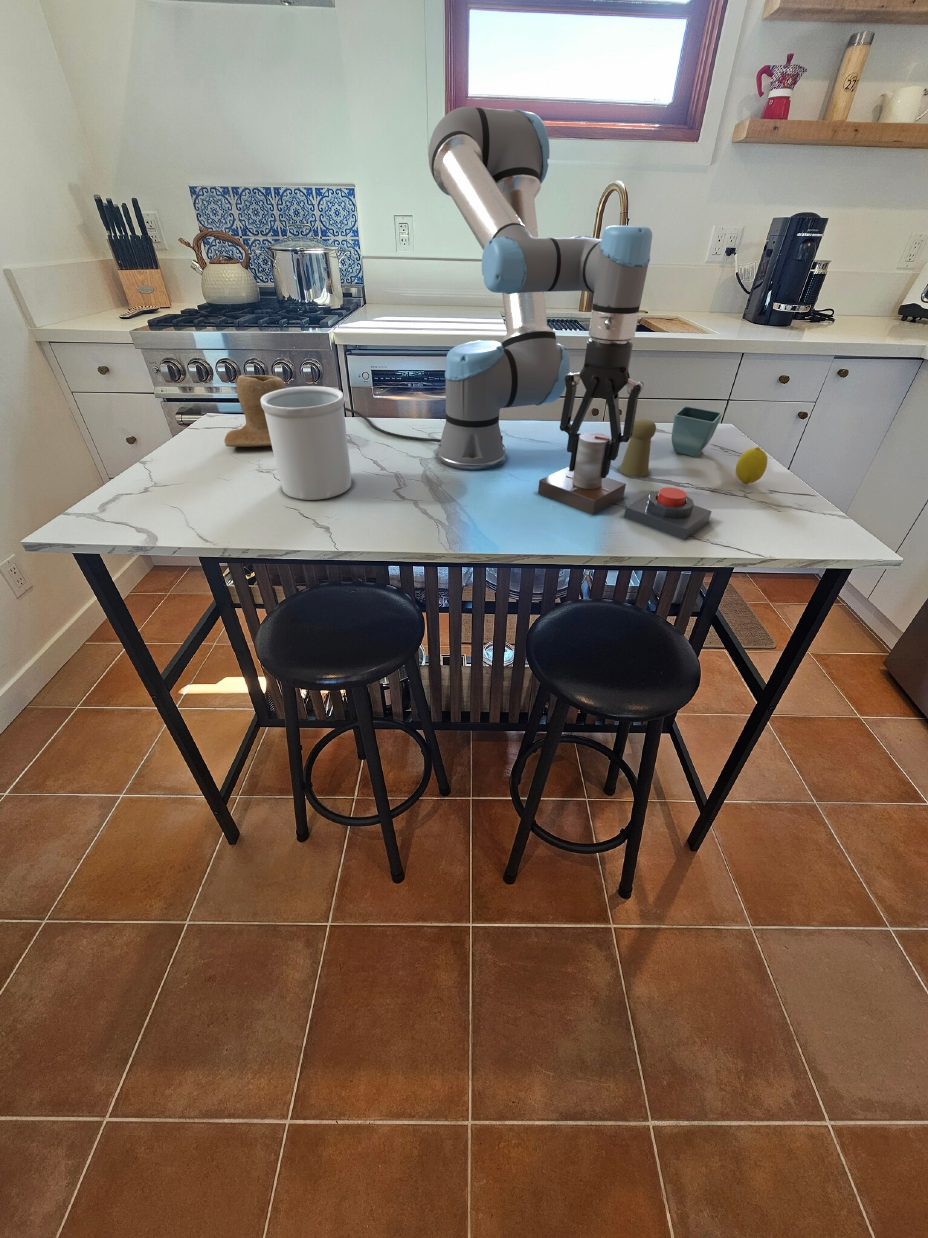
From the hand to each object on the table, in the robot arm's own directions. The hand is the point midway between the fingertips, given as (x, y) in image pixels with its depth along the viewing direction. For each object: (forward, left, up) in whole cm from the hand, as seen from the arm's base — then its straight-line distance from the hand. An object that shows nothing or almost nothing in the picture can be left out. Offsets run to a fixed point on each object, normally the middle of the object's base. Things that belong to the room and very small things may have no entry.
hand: (588, 471), depth 105 cm
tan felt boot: (-70, -30, -6) cm, 76 cm away
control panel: (-1, 0, -5) cm, 5 cm away
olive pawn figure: (0, +19, -6) cm, 20 cm away
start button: (+16, +3, -2) cm, 16 cm away
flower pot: (+3, +39, -6) cm, 40 cm away
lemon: (+20, +30, -6) cm, 37 cm away
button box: (+16, +3, -5) cm, 17 cm away
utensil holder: (-41, -35, -6) cm, 54 cm away
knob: (0, 0, -2) cm, 2 cm away
